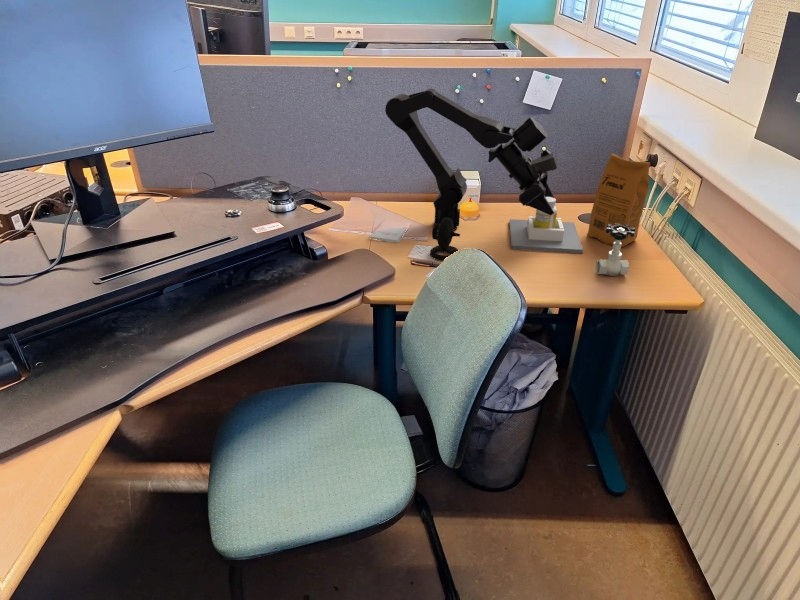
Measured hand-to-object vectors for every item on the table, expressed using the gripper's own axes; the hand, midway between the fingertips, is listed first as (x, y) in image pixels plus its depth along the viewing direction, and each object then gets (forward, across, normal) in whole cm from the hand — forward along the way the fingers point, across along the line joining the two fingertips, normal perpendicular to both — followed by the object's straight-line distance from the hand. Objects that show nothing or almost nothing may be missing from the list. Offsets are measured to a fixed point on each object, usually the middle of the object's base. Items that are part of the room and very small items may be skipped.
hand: (553, 207), depth 144 cm
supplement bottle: (+4, 0, +7) cm, 8 cm away
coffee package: (+18, +4, -5) cm, 19 cm away
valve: (+17, -18, -5) cm, 25 cm away
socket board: (+5, 0, +7) cm, 9 cm away
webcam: (-11, -18, +24) cm, 32 cm away
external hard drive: (-23, -9, +37) cm, 44 cm away
